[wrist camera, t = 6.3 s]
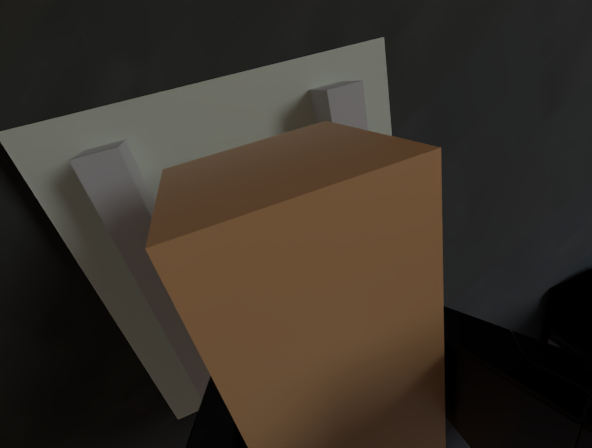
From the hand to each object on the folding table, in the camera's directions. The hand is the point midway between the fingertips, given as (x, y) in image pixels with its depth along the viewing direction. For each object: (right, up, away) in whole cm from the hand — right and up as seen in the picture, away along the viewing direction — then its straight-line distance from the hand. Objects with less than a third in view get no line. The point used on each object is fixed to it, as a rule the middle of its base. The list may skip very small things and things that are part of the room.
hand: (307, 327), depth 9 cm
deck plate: (-2, +2, +5) cm, 5 cm away
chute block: (0, 0, +1) cm, 1 cm away
